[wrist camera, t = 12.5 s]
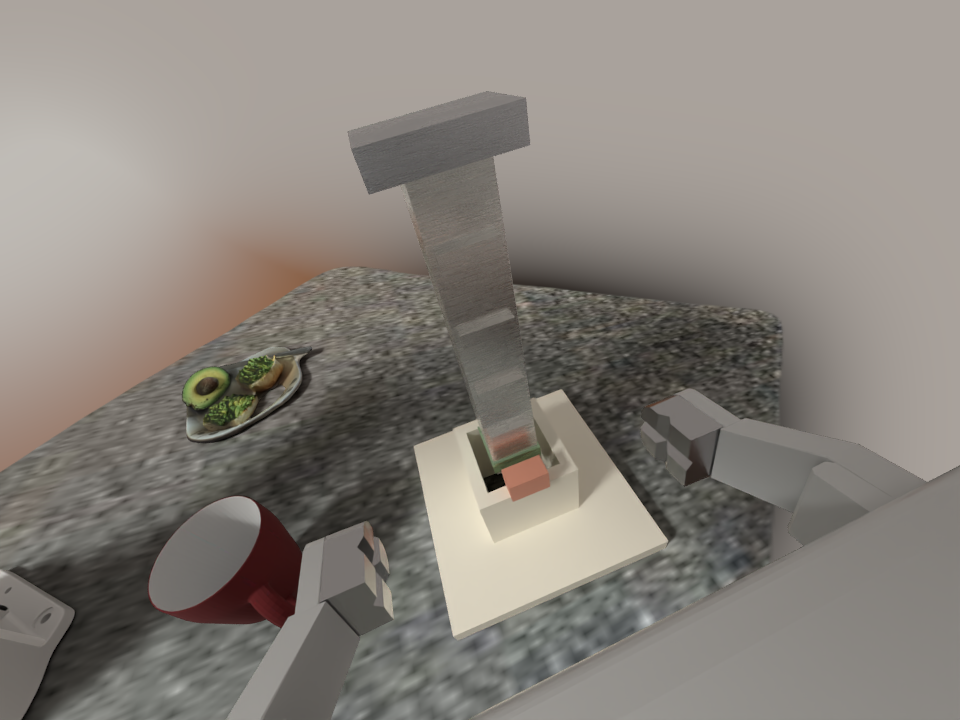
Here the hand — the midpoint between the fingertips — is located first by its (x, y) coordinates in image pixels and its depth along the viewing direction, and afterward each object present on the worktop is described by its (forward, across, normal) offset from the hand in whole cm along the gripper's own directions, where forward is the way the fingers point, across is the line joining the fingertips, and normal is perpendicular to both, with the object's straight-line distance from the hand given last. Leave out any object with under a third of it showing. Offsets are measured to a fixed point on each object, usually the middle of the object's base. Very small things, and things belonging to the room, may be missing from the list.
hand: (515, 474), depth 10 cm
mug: (+16, +19, +23) cm, 34 cm away
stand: (+15, -3, +22) cm, 27 cm away
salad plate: (+48, +28, +18) cm, 59 cm away
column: (+14, -3, +14) cm, 20 cm away
